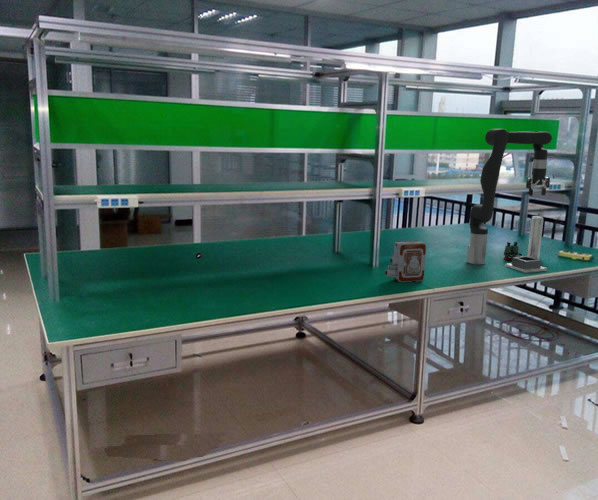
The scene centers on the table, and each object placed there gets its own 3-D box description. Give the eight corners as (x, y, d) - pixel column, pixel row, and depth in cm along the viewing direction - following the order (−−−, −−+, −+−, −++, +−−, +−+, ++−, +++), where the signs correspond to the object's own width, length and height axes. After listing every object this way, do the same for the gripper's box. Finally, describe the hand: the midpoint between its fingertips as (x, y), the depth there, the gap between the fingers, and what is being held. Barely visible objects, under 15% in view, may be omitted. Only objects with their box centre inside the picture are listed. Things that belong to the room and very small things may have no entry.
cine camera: (381, 279, 279) (383, 240, 275) (417, 277, 283) (419, 238, 279) (388, 283, 270) (390, 243, 266) (425, 282, 274) (428, 242, 270)
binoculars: (513, 246, 316) (503, 241, 325) (510, 263, 319) (500, 258, 328) (527, 245, 317) (517, 240, 327) (524, 263, 321) (514, 257, 330)
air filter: (526, 258, 329) (531, 216, 324) (527, 256, 335) (532, 215, 329) (538, 259, 326) (543, 217, 321) (539, 257, 332) (544, 216, 326)
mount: (524, 272, 295) (525, 262, 294) (505, 266, 309) (506, 256, 308) (546, 270, 301) (547, 260, 300) (526, 264, 314) (527, 254, 313)
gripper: (533, 168, 312) (530, 196, 316) (554, 167, 316) (551, 195, 320) (524, 167, 319) (522, 195, 323) (545, 166, 323) (542, 194, 327)
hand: (536, 195), depth 322 cm, fingers open, 8 cm apart
